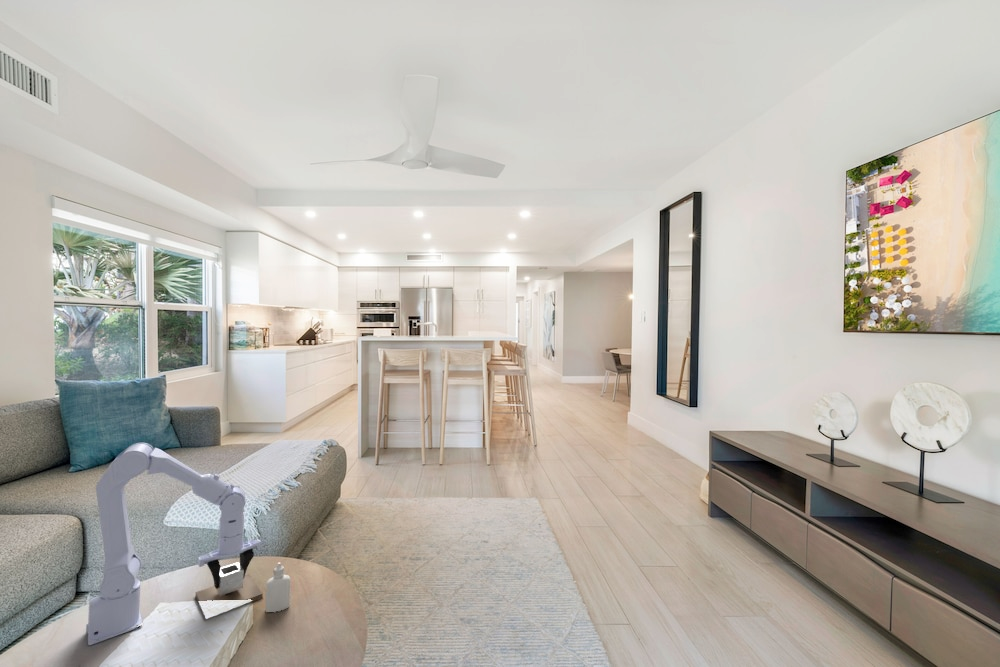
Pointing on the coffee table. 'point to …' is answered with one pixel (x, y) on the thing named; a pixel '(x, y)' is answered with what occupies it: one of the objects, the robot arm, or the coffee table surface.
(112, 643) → the coffee table surface
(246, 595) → the brown peg base
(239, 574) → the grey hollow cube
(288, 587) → the eye dropper bottle
